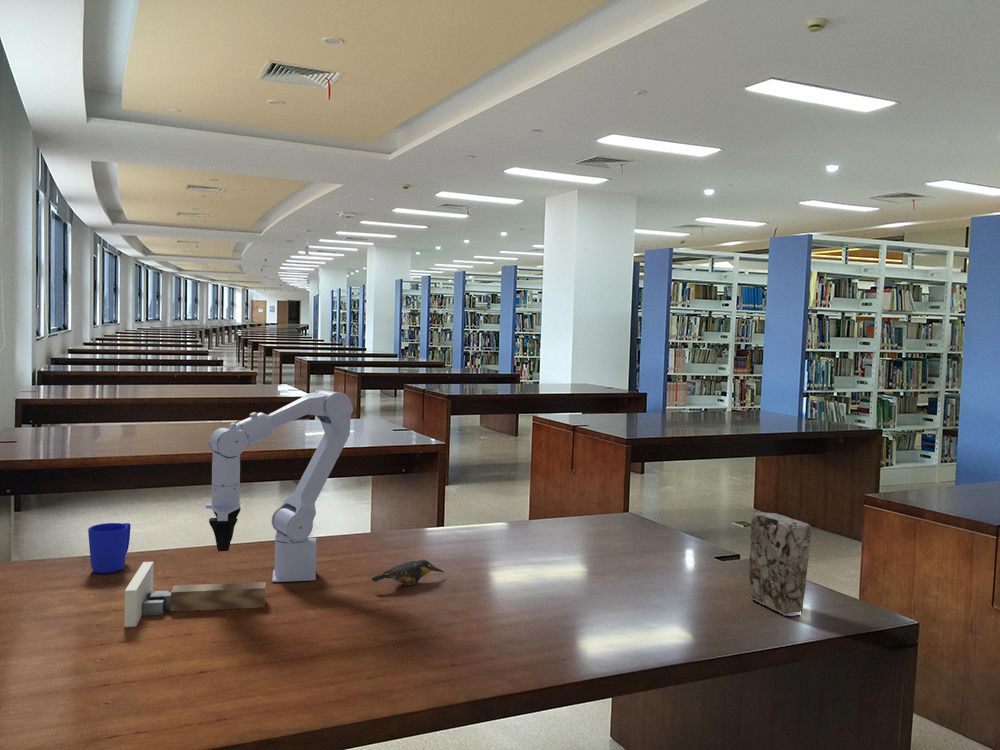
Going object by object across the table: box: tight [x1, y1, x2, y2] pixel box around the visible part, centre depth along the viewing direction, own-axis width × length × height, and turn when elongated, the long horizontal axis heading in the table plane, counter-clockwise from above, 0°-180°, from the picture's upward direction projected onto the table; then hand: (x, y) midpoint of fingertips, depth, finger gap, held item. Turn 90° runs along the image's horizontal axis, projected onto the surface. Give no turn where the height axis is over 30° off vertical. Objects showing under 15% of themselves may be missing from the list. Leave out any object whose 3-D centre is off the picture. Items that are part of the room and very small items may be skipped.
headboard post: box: [124, 561, 169, 628], centre depth 156 cm, size 6×18×7 cm, turn 14°
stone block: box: [748, 511, 812, 614], centre depth 171 cm, size 13×7×20 cm, turn 26°
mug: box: [87, 522, 132, 574], centre depth 181 cm, size 8×12×10 cm
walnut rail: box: [150, 581, 267, 613], centre depth 159 cm, size 22×4×4 cm, turn 104°
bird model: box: [369, 559, 445, 586], centre depth 177 cm, size 20×5×5 cm, turn 131°
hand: (224, 545), depth 170 cm, fingers open, 7 cm apart
